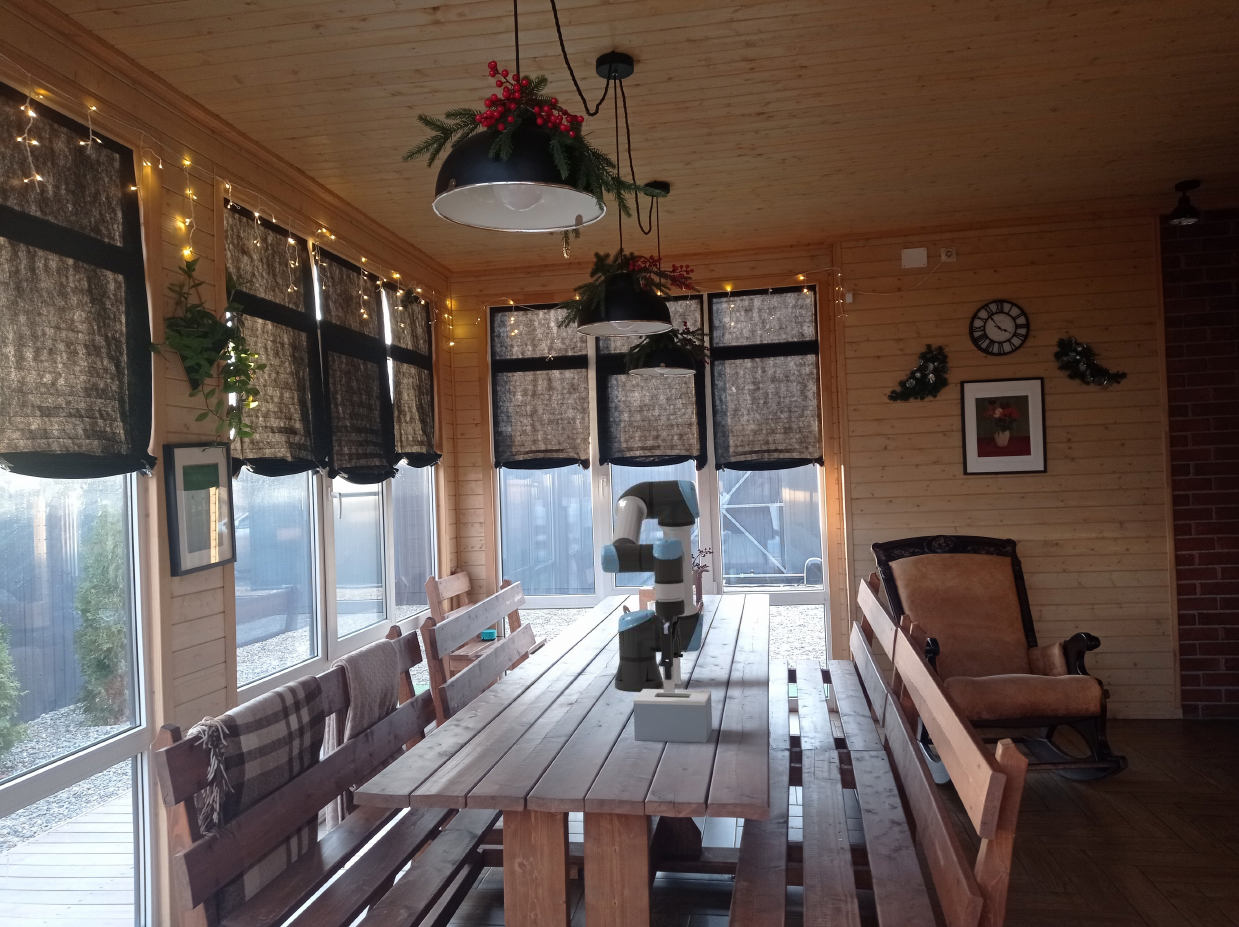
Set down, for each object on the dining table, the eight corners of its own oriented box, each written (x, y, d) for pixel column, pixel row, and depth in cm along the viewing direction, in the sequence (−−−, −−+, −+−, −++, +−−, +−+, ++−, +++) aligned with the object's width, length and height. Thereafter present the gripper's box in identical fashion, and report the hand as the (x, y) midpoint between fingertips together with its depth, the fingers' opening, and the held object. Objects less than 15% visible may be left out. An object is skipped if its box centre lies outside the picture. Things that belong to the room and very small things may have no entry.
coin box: (644, 726, 242) (643, 688, 242) (712, 729, 238) (711, 690, 238) (634, 740, 230) (633, 700, 230) (706, 742, 226) (704, 702, 226)
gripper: (662, 593, 245) (665, 677, 245) (646, 605, 224) (649, 697, 224) (690, 593, 244) (693, 678, 244) (677, 605, 223) (680, 698, 223)
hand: (672, 687), depth 234 cm, fingers open, 9 cm apart
